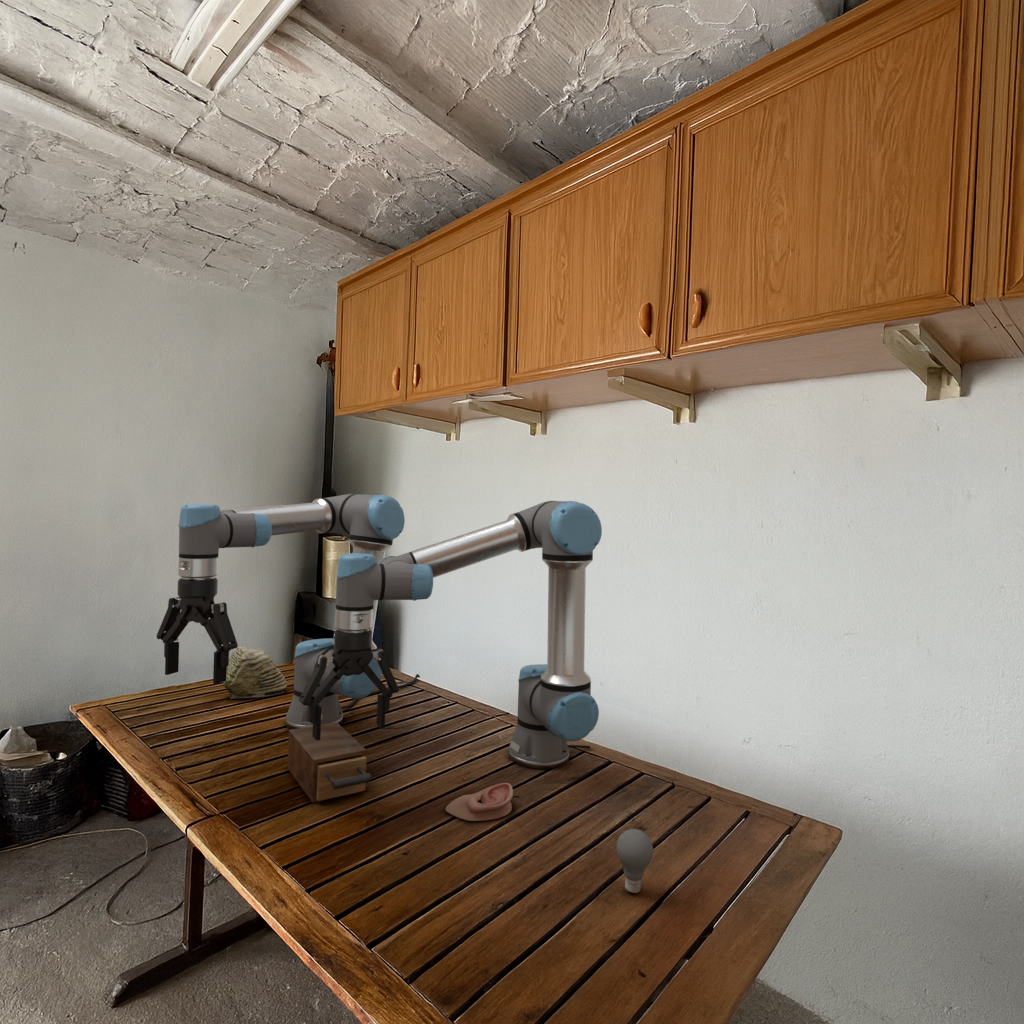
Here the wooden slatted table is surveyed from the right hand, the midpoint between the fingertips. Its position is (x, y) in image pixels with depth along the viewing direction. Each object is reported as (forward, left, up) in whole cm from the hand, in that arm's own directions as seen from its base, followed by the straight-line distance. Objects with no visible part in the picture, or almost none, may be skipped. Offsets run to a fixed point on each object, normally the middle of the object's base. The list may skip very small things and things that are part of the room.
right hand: (349, 732), depth 130 cm
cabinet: (+3, -14, -15) cm, 21 cm away
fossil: (+21, -80, -15) cm, 84 cm away
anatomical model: (-26, +8, -15) cm, 31 cm away
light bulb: (-43, +41, -15) cm, 61 cm away
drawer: (+2, -9, -14) cm, 17 cm away
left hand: (+30, -15, +9) cm, 35 cm away
